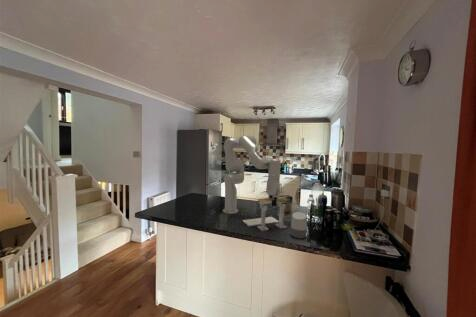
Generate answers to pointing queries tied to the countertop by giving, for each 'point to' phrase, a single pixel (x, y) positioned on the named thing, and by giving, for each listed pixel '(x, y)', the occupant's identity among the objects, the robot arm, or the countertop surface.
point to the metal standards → (263, 214)
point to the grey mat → (258, 221)
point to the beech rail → (269, 200)
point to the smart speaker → (299, 225)
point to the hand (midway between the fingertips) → (272, 204)
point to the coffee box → (287, 206)
